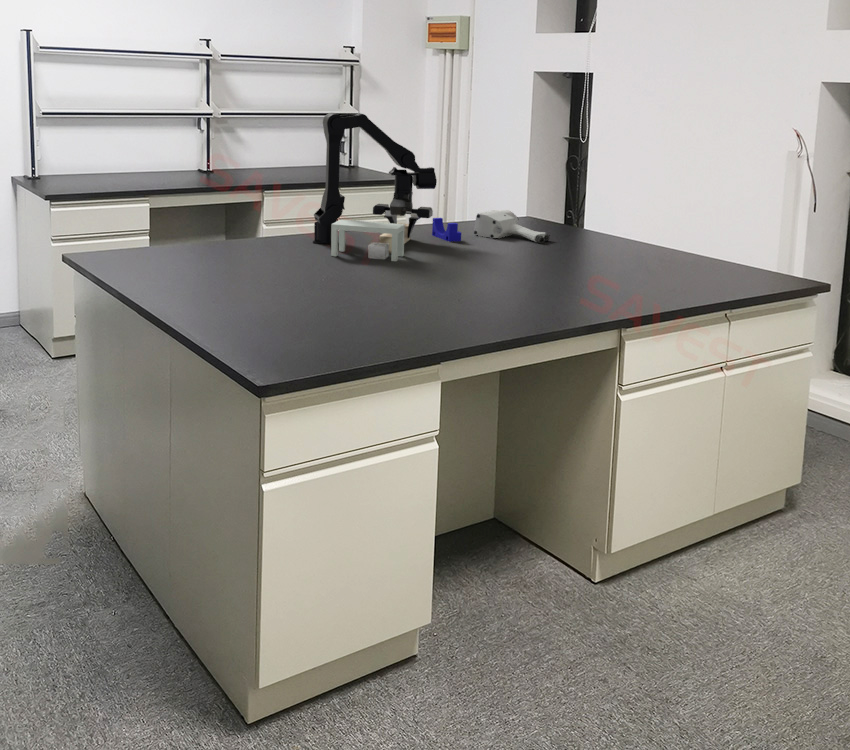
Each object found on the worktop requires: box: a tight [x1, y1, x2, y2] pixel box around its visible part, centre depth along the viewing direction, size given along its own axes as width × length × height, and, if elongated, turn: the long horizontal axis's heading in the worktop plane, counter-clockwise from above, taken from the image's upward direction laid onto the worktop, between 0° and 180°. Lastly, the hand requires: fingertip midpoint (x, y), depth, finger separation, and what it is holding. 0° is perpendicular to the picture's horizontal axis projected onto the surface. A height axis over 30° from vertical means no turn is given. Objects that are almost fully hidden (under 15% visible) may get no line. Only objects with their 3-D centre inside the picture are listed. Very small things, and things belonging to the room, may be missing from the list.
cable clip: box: [431, 217, 462, 243], centre depth 328 cm, size 12×4×6 cm, turn 27°
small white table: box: [330, 219, 406, 262], centre depth 295 cm, size 20×9×10 cm, turn 77°
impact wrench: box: [473, 210, 551, 245], centre depth 337 cm, size 8×23×25 cm
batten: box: [378, 222, 412, 254], centre depth 313 cm, size 4×25×5 cm, turn 168°
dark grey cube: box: [367, 241, 390, 260], centre depth 295 cm, size 5×5×4 cm
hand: (402, 237), depth 322 cm, fingers closed on batten, 4 cm apart
